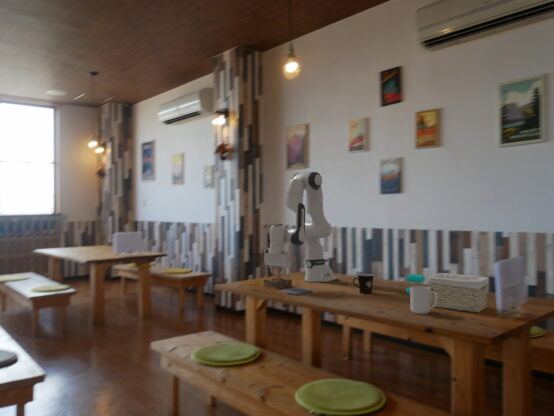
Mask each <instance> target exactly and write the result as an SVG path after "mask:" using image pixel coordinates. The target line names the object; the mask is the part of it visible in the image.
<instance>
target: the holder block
mask: <svg viewBox="0 0 554 416" xmlns="http://www.w3.org/2000/svg"><path fill="white" fill-rule="evenodd" d="M263 287H265V288H271V289H276V290H281V289H284V288H285V289H286V288H292V287H293V280H292V279H291V278H286V277H285V278H284V277H281V280H279V281H276V280H274V277H272V278H271V277H270V278H267V279H263Z"/></svg>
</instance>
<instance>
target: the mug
mask: <svg viewBox="0 0 554 416" xmlns="http://www.w3.org/2000/svg"><path fill="white" fill-rule="evenodd" d="M409 287H410V294H409V299H410V300H409V303H410V306H409V309H410V311H411V312H412V313H414V314H418V315H428V314H429V313H430V312H431V311H432V310H431V309H433V308H434V306H436V305H437V293H435V292H431V291H430V287H429V286H424V285H413V286H412V287H411V286H409ZM431 293H434V294H435V304H434V306H432V305H431Z"/></svg>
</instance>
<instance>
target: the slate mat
mask: <svg viewBox="0 0 554 416" xmlns="http://www.w3.org/2000/svg"><path fill="white" fill-rule="evenodd" d="M277 291H278V292H284V293H286V295H290V296H295V297H296V296H300V295H305V294H309V293H312V292H313V289H307V288H301V287H296V286H295V287H287V288H285V289H284V288H282V289H277Z"/></svg>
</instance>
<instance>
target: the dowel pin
mask: <svg viewBox="0 0 554 416" xmlns="http://www.w3.org/2000/svg"><path fill="white" fill-rule="evenodd" d="M273 268H274V273H273V275H274V276H273V278H274V280H276V281H279V280H281V278H282V274H280V271H282V268H281V267H278V266H274V267H273Z"/></svg>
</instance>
